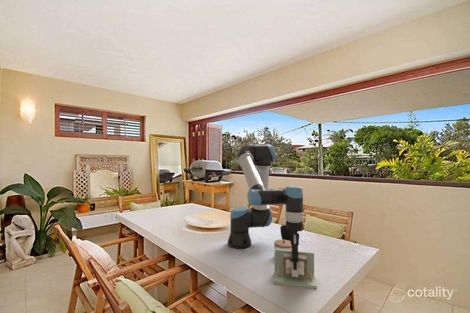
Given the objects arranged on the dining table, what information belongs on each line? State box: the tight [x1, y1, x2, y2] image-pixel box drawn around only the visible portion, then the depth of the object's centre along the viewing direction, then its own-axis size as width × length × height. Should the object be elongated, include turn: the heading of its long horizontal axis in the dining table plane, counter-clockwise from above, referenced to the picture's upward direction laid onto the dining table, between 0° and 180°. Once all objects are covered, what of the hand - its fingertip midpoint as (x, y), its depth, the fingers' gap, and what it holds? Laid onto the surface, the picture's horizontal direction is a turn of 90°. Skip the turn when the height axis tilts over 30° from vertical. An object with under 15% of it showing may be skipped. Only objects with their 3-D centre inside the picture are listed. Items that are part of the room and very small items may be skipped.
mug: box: [279, 224, 291, 241], centre depth 152 cm, size 8×12×10 cm
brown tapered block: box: [283, 253, 307, 278], centre depth 102 cm, size 10×4×8 cm, turn 77°
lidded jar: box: [273, 239, 292, 250], centre depth 128 cm, size 11×11×9 cm
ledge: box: [273, 248, 318, 290], centre depth 103 cm, size 18×11×11 cm, turn 77°
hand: (294, 273), depth 101 cm, fingers closed on brown tapered block, 4 cm apart
